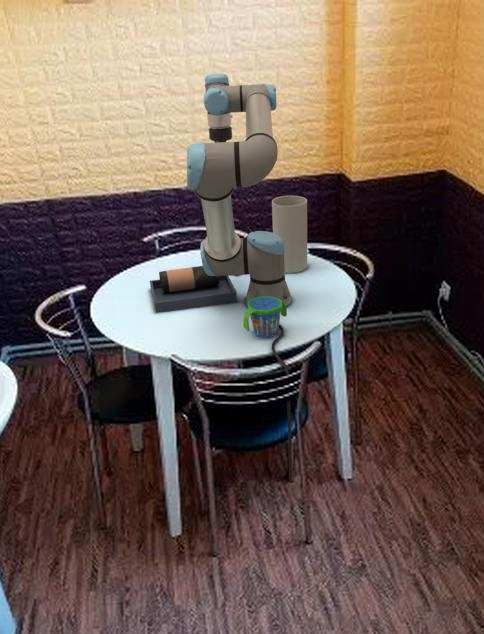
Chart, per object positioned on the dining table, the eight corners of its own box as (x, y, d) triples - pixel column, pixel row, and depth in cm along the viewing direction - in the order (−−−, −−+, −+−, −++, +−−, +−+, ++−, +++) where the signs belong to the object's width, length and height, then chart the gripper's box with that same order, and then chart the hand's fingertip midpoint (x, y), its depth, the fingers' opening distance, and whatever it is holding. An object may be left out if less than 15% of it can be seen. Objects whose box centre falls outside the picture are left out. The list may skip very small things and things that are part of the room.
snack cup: (277, 320, 214) (276, 290, 209) (296, 332, 207) (295, 302, 201) (235, 333, 207) (233, 303, 202) (253, 346, 200) (252, 316, 194)
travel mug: (214, 261, 238) (158, 268, 234) (217, 267, 231) (160, 275, 228) (216, 281, 241) (161, 289, 238) (220, 288, 235) (163, 296, 231)
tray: (237, 301, 227) (236, 292, 225) (156, 312, 222) (154, 303, 220) (226, 280, 243) (226, 270, 241) (150, 289, 238) (149, 280, 236)
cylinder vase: (273, 274, 246) (271, 206, 232) (274, 261, 256) (272, 196, 243) (307, 273, 245) (307, 205, 232) (307, 260, 256) (306, 195, 242)
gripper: (238, 133, 208) (242, 201, 220) (224, 118, 228) (228, 181, 240) (215, 135, 207) (220, 203, 218) (202, 120, 227) (208, 183, 239)
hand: (224, 192), depth 229 cm, fingers open, 13 cm apart
